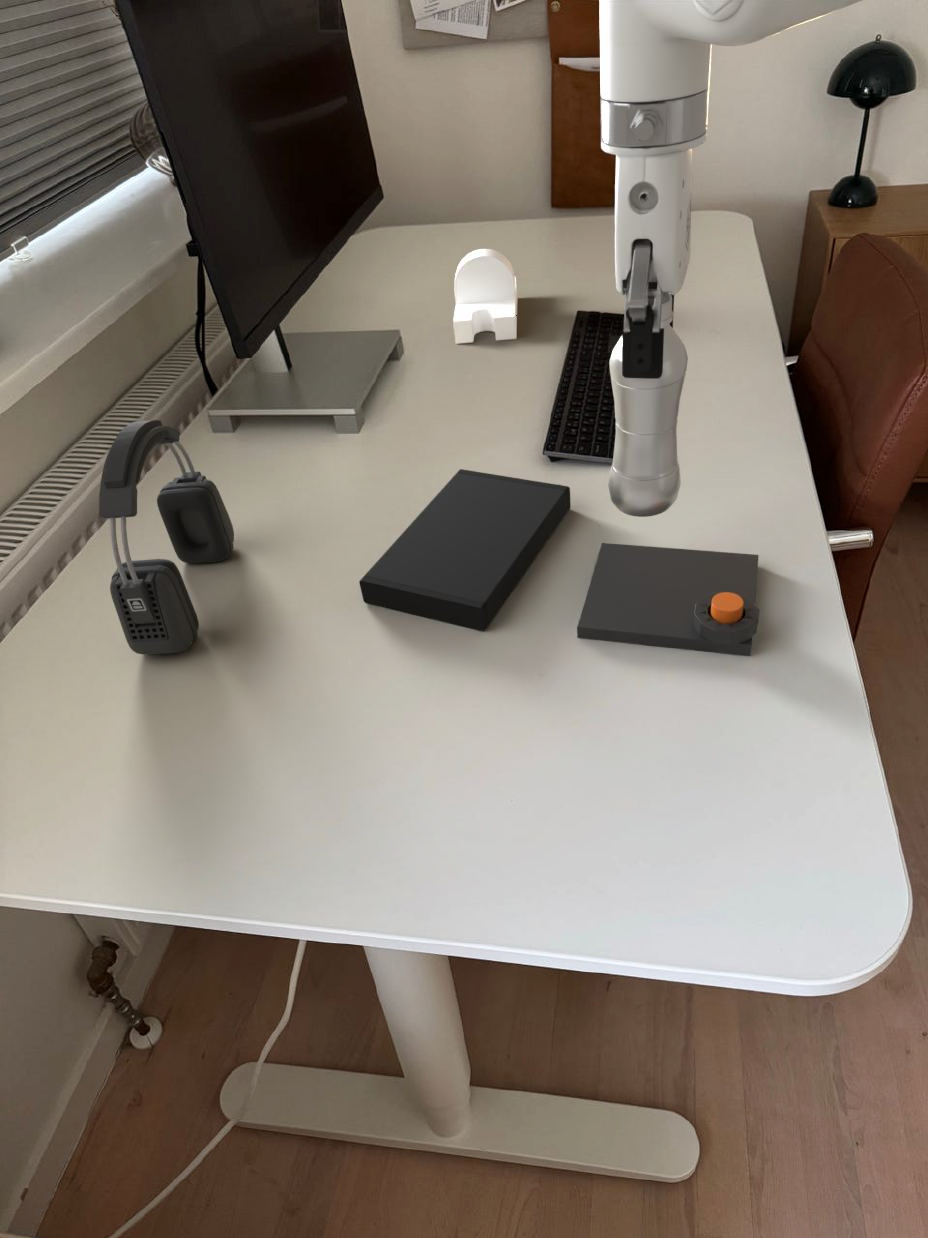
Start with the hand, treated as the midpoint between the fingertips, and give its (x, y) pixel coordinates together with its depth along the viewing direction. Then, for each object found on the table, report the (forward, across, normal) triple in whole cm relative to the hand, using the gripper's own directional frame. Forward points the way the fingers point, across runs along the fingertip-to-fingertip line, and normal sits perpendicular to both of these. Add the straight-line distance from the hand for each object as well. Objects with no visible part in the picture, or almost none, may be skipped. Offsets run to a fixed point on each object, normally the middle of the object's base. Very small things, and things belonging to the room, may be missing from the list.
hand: (648, 356), depth 75 cm
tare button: (+22, -7, -9) cm, 25 cm away
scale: (+25, -2, -3) cm, 25 cm away
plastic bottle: (+15, 0, 0) cm, 15 cm away
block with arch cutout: (+25, +68, +35) cm, 80 cm away
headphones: (+25, -9, +48) cm, 55 cm away
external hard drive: (+25, +3, +19) cm, 31 cm away
